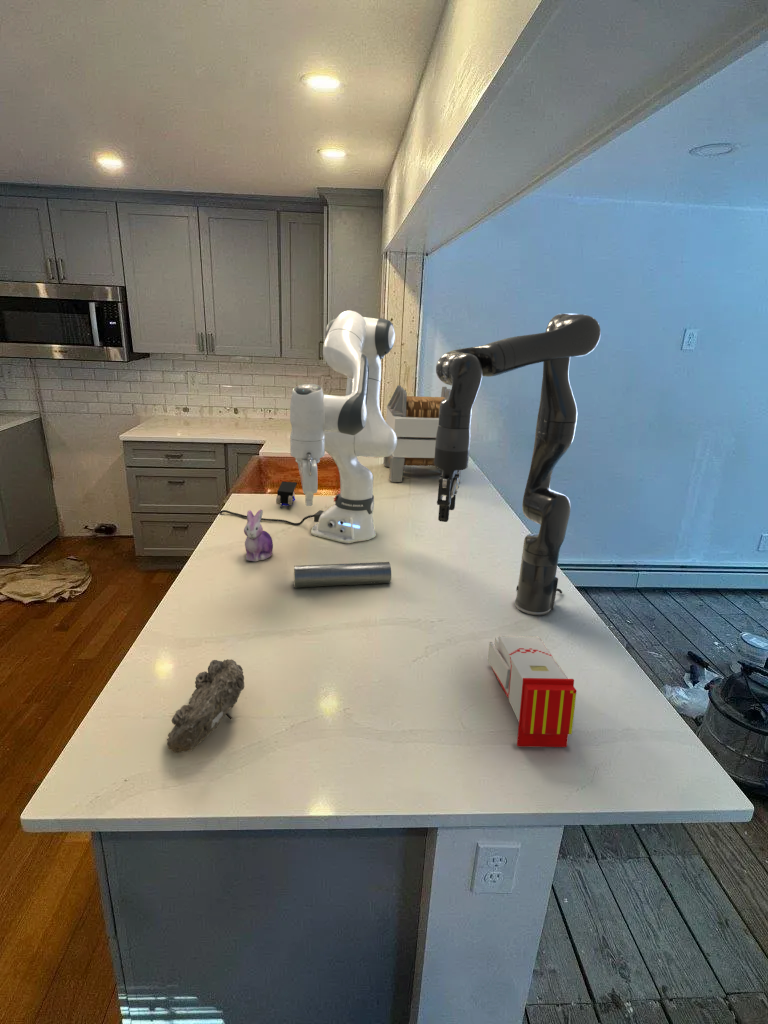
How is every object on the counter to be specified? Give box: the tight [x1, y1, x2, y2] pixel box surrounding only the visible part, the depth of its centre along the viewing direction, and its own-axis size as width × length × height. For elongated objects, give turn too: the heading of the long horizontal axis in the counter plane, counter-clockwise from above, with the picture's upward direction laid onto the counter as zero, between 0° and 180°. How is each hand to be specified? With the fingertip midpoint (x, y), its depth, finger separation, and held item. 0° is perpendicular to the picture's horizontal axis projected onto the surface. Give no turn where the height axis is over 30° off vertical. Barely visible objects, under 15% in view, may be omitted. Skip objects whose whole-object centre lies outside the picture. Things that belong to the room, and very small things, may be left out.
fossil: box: [166, 658, 245, 754], centre depth 106 cm, size 22×10×15 cm
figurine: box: [243, 508, 274, 562], centre depth 175 cm, size 9×10×15 cm
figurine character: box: [275, 480, 298, 509], centre depth 223 cm, size 7×8×15 cm
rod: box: [293, 561, 392, 588], centre depth 161 cm, size 27×6×6 cm, turn 101°
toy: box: [486, 635, 577, 748], centre depth 115 cm, size 12×13×30 cm
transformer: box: [383, 384, 462, 483], centre depth 268 cm, size 34×33×41 cm
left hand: (307, 499), depth 151 cm, fingers open, 8 cm apart
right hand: (446, 515), depth 130 cm, fingers open, 8 cm apart
